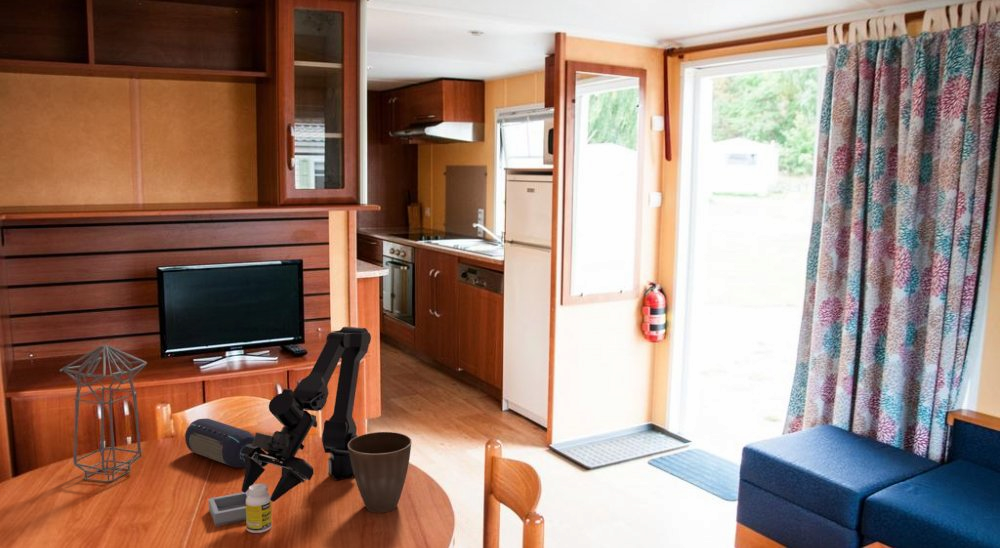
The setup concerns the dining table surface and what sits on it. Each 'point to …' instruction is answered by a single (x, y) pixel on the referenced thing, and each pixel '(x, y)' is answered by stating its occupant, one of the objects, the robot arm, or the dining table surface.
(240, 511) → the can holder
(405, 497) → the dining table surface
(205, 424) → the portable speaker
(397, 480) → the plant pot
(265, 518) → the supplement bottle
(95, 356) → the geometric lantern
